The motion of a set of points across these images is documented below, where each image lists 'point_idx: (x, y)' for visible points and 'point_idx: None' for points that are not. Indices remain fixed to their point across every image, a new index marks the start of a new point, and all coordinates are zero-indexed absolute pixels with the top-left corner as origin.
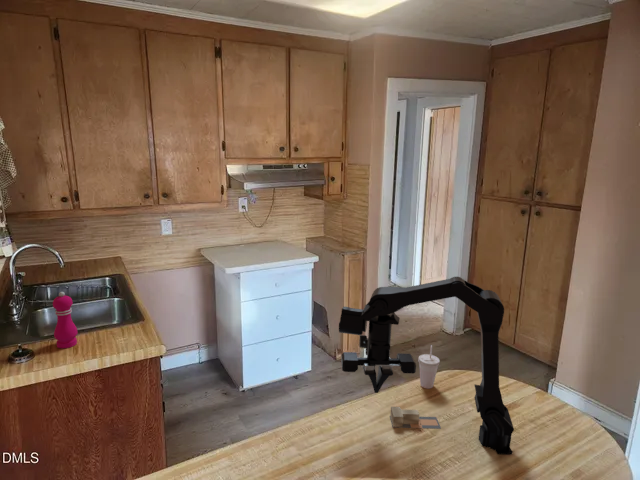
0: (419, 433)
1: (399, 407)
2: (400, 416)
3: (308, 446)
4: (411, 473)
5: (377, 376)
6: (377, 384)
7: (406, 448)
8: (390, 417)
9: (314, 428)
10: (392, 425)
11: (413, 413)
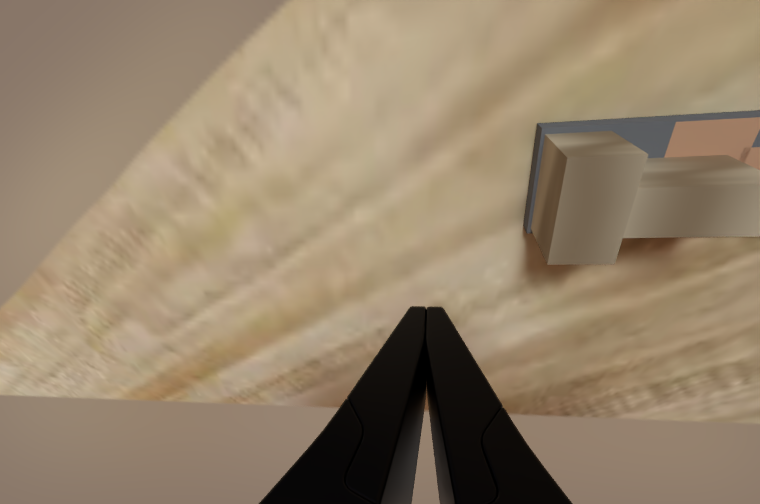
0: (670, 241)
1: (637, 163)
2: (595, 262)
3: (178, 320)
4: (524, 412)
5: (442, 434)
6: (433, 426)
7: (550, 327)
8: (542, 147)
9: (155, 233)
10: (531, 219)
11: (717, 227)
